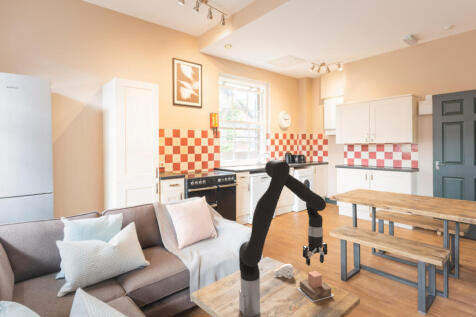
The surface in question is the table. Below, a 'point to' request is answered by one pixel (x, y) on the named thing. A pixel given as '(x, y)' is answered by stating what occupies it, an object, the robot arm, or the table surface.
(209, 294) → the table surface
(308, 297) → the grey flat square slab
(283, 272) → the white speckled wedge
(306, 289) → the walnut plinth
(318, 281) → the terracotta block
